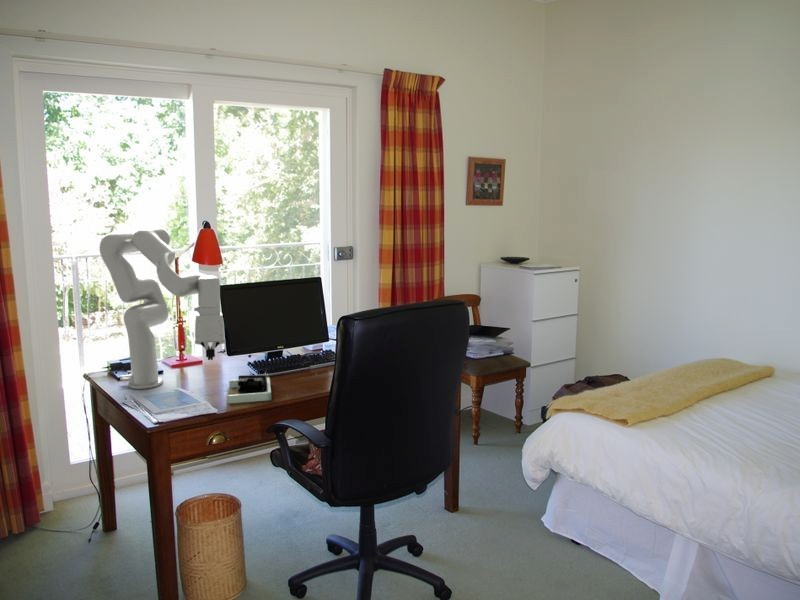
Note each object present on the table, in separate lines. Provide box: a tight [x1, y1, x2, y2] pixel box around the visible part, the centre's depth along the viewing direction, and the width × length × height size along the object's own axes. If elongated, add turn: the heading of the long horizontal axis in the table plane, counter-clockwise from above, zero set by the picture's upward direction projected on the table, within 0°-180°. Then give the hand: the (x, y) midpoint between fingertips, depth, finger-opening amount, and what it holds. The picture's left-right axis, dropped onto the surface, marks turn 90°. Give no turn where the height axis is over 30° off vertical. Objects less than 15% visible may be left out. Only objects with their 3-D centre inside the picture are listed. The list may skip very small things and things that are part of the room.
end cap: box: [237, 374, 268, 394], centre depth 244 cm, size 10×7×7 cm
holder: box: [227, 376, 272, 404], centre depth 244 cm, size 15×18×3 cm
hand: (210, 358), depth 239 cm, fingers closed
